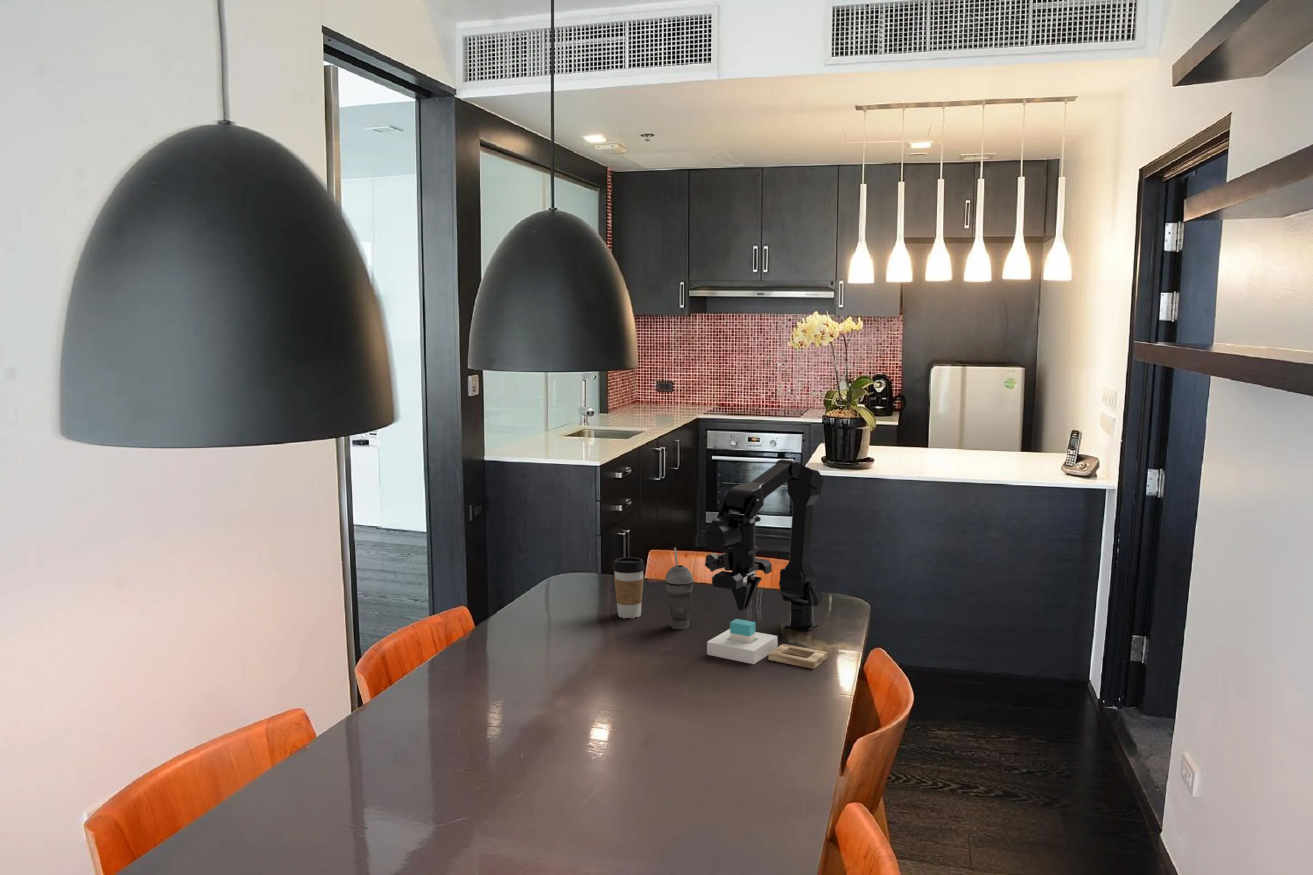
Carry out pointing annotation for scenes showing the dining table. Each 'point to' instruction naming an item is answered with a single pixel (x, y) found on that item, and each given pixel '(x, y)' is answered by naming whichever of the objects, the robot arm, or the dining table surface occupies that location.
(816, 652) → the holster
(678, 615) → the beverage cup
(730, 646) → the port block
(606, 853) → the dining table surface
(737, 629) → the plug
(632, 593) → the coffee cup
